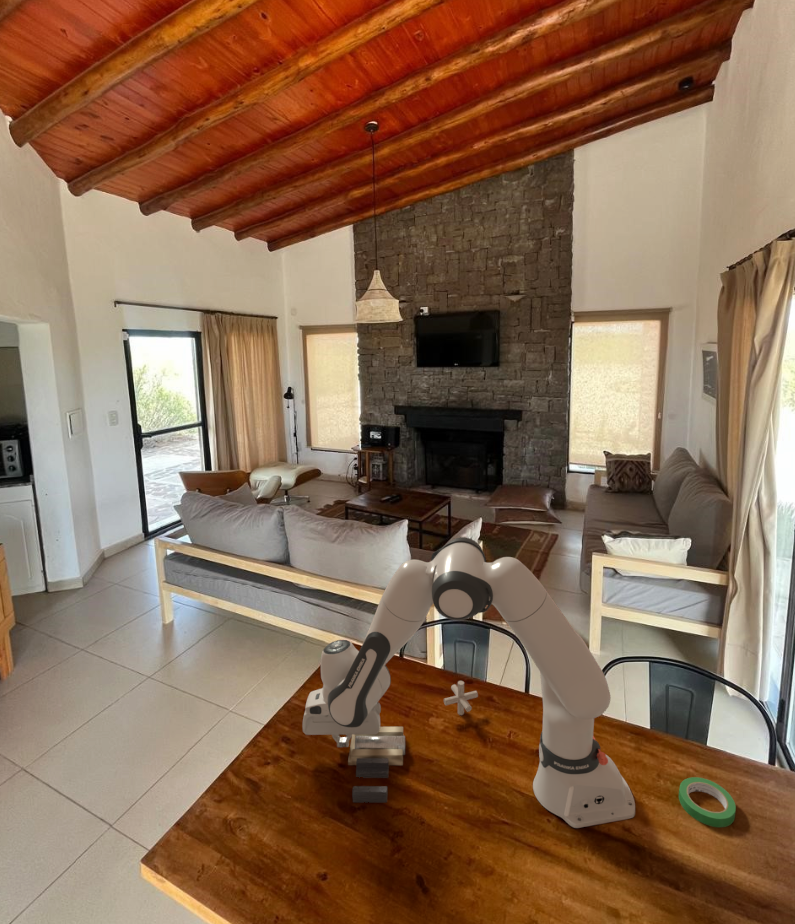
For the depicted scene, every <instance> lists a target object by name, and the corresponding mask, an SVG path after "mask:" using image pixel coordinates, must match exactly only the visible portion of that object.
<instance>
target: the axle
mask: <svg viewBox="0 0 795 924" xmlns="http://www.w3.org/2000/svg"><path fill="white" fill-rule="evenodd" d="M355 749H403V756H405V755H406V736H405V735H403V736H356V737H355Z"/></svg>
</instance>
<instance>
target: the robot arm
mask: <svg viewBox="0 0 795 924" xmlns="http://www.w3.org/2000/svg"><path fill="white" fill-rule="evenodd" d="M430 559H431V560H430V561H429V562H428V561H427V562H426V561H423V560H420V559H408V560H406V561H404V562H403V563H402V564H401V565H400V566H399V567H398V569H397V570H396V571H395V572H394V573H393V574H392V577H391V578H390V580H389V581H388V583H387V585H386V588H385V590H384V591H383V593H382V595H381V598H380V600H379V603H378V605H377V608H376V611H375V613H374V615H373V618H372V620H371V623H370V625H369V629H368V631H367V633H366V635H365V638H364V640H363V643H362V645H361V647H360V649H359V650H358V649H357V648H356V647H355V646H354V644H353V643H352V641H350V640H347V639H338V640H335V641H332V642H330V643H328V644H327V645H326V646H325V647H324V648H323V649H322V652H321V656H320V678H321V681H322V684H323V685H322V688H318V689H316V690H315V689H314V690H312V691H310V692H309V694H308V696H307V699H306V703H305V710H304V714H303V717H302V718H303V719H302V732H303V733H304V734H305V736H311V735H312V736H317V735H318V736H319V735H321V736H323V735H324V736H325V735H326V736H329V735H331V737H332V739H333V740H334V741H335V742H336V747H337V748H349V747H350V746H349V745H350V741H351V740H352V735H356V734H377V733H378V732H379V731H380V727H381V716H380V713H381V711H382V708H381V707H382V705H381V704H380V702H379V701H380V700H381V699H382V697H383V696H384V695H385V693H386V692H387V690H388V689H389V688H390V686H391V683H392V680H391V674H390V671H389V668H388V667H387V666H386V665H387V664H388V662H389V661H390V660H391V659H392V658H393V657H394V656H395V655H396V654H397V652H399V650H401V649H402V648H403V647H404V646H405V645H406V644H407V643H408V642H409V641H410V640H411V638H413V636H414V635H415V634H416V633H417V632H418V630H419V629H420V628H421V626H422V625H423V623H424V621H425V620H426V618H427V615H428V614H429V612H430V610H431V608H432V606H433V605H434V608H435V609H436V611H437V613H439V614H440V615H441V616H442V617H443V618H446V619H448V620H451V621H463V620H467V619H471V618H472V617H475V616H476V615H478V614H481V613H485V612H487V611H488V610H489V608H490V607H491V605H492V606H493V607H495V609H496V610H497V611H498V613H499V614H500V616H501V617H502V618H503V620H504V621H505V623H507V625H508V626H509V628H510V629H511V630H512V631H513V633H514V634H515V636H516V637H517V638H518V639H519V641H520V642H521V644H522V645H523V647H524V649H525V650H526V651H527V653H528V655H529V656H530V658H531V659H532V661H533V662H534V664H535V665H536V668H537V669H538V671H539V673H540V675H539V676H540V687H541V697H542V709H543V710H542V731H541V733H540V737H539V746H538V752H539V753H538V755H539V764H538V768H537V771H536V775H535V776H534V779H533V782H532V789H533V790H532V791H533V793H534V795H535V798H536V799H537V801H538V802H539V803H540V805H541V806H543V808H545V810H547V811H549V812H550V813H552V814H554V815H556V816H558V817H559V818H561V819H563V820H564V821H565V823H567V824H568V825H569V826H570V827H572V828H574V829H580V828H584V827H591V826H596V825H597V826H598V825H602V824H607V823H612V822H618V821H624V820H628V819H633V818H634V817H635V816H636V803H635V802H636V801H635V798H634V796H633V793H632V790H631V789H630V786H629V785H628V783H627V781H626V780H625V778H624V777H623V775H622V774H621V773H620V770H619V769H618V766H617V765H616V764H615V762H614V761H613V760H612V758H611V757H609V755H607V754H606V753H605V752H603V751H601V746H600V744H599V742H598V741H597V740H596V738H595V736H594V726H595V719H596V718H598V717H600V716H601V715H603V714H604V713H605V712H606V711H607V709H608V708H609V706H610V704H611V692H610V688H609V685H608V681H607V678H606V675H605V673H604V671H603V670H602V668H601V667H600V665H599V664H598V661H597V660H596V658H595V657H594V655H593V653H592V651H591V650H590V649H589V647H588V645H587V644H586V642H585V641H584V639H583V638H582V636H581V635H580V634H579V633H578V632H577V631H575V629H574V628H573V627H572V625H571V624H570V621H568V619H567V618H566V616H565V614H564V613H563V612H562V611H561V609H560V607H558V605H557V604H556V602H555V600H553V598H552V597H551V595H550V594H549V592H548V591H547V590H546V588H545V586H544V585H543V584H542V582H541V581H539V579H538V578H537V577H536V576H535V575H534V574H533V572H532V571H531V570H530V569H529V568H528V567H527V566H526V565H525V564H524V563H522V562H521V561H520V560H519V559H518V558H515V557H511V556H503V557H499V558H497V559H495V560H494V561H492V562H487V560H486V556H485V552H484V550H483V549H482V547H481V545H480V544H479V543H478V542H476V541H475V540H474V539H472V538H469V537H465V536H464V537H462V536H461V537H456V538H453V539H452V540H450V541H448V542H447V543H445V545H443V546H442V547H440V548H439V549H437V550H435V551H434V552H433V553H432V554H431V557H430ZM340 735H341V736H342V735H345V736H344V737H343V736H342V737H341V736H340Z"/></svg>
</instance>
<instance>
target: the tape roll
mask: <svg viewBox="0 0 795 924" xmlns="http://www.w3.org/2000/svg"><path fill="white" fill-rule="evenodd" d="M694 792H700V793H701V792H702V793H705V794H708V795H710V796H713V798H715V799H716V800H718V801H719V803H720V804H721V805H722V806H723V808H724V809H723V810H722V811H711V810H708V809H706V808H703V807H701V806H699V805H698V804H697V803H696V802H695V801H693V800H692V798H691V797H690V793H694ZM678 800H679V803H680V805H681V807H682V809H684V811H685V812H686V813H687V814H688V815H690V816H691V818H693V819H694V820H696V821H698V822H699V823H701V824H704V825H706V826H709V827H713V828H726V827H729V826H731V825H732V824H733V823H734V821H735V817H736V810H737V806H736V802H735V800H734V799H733V796H731V794H730V793H729V792H728V791H727V790H726V789H725V788H724V787H722V786H721V785H720V784H718V783H716V782H714V781H712V780H710V779H707V778H704V777H697V776H693V777H691V776H690V777H688V778H685V779H683V780H682V781H681V782H680V785H679V790H678Z"/></svg>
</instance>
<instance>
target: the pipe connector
mask: <svg viewBox="0 0 795 924" xmlns="http://www.w3.org/2000/svg"><path fill="white" fill-rule="evenodd" d="M450 689H451V691H452V693H454V695H453V696H450V697H445V698H443V703H444V705H445V706H449V705H453V704H457V714H458V715H459V716H463V715H464V714H465V711H466V712H467V713H468V712H471V710H472V706H471V704H470V703H469V700H473V699H475V698H478V697H479V693H478V691H477V690H473V691H469V692H465V682H464V681H463V680H458V681H457V684H455V683H454V684H452V685H451V687H450Z"/></svg>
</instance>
